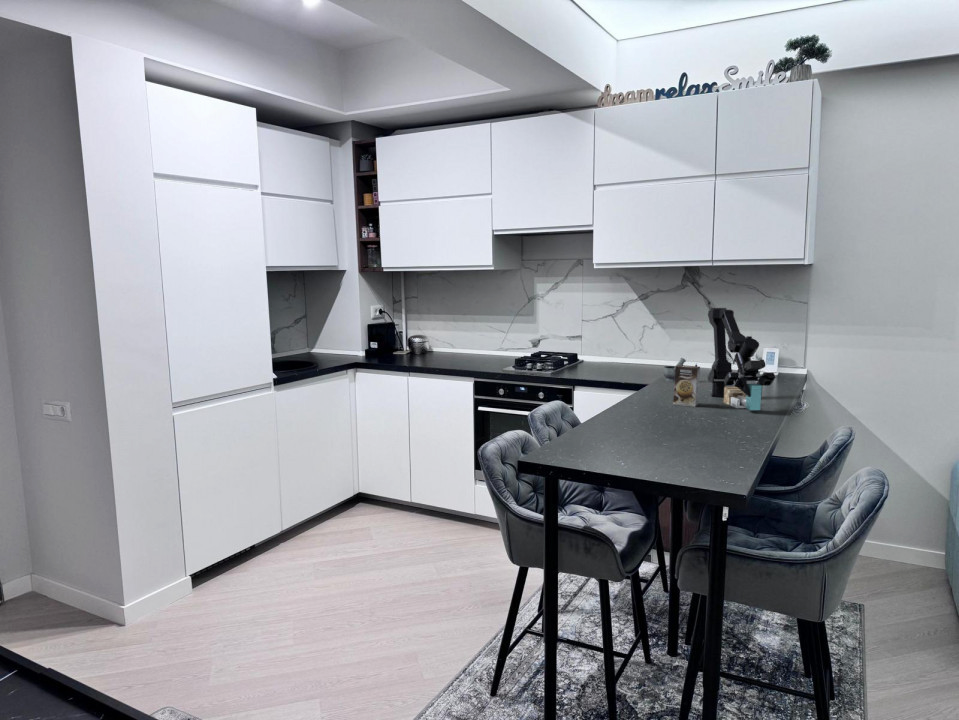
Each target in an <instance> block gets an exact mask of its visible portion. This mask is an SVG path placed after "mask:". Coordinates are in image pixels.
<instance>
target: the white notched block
mask: <svg viewBox="0 0 959 720" xmlns="http://www.w3.org/2000/svg"><path fill="white" fill-rule="evenodd" d="M730 406H731V407H734V408H735V409H747V408H746V406H744V405H742V404H740V400H739V399H737V398H735V397H731V405H730Z"/></svg>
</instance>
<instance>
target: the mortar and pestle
mask: <svg viewBox="0 0 959 720" xmlns="http://www.w3.org/2000/svg"><path fill="white" fill-rule="evenodd" d="M686 361H687V360H686V359H685V358H684V357H681V358H680V359H679V361H678V362H677V364H676V365H675V366H674V365H664V366H663V365H662V373H663V376H664V377H665V382H668V381H669V383H674V382H675V367H676V366H677V365H685V364H684V363H686Z"/></svg>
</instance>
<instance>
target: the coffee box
mask: <svg viewBox="0 0 959 720" xmlns="http://www.w3.org/2000/svg"><path fill="white" fill-rule="evenodd" d="M676 365H677V364H676ZM676 365H675V366H676ZM700 371H701V367H700V366H696V365H685V364H683V365H677V366H676V367H675V382H673V383H674V384H673V385H674V386H673V399H672V400H673V401H672V404H673V405H676V406H684V407H693V408H694V407H697V406H698V404H699V403H698V401H699V388H700V387H699V385H700Z"/></svg>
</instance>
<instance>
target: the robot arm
mask: <svg viewBox="0 0 959 720" xmlns="http://www.w3.org/2000/svg"><path fill="white" fill-rule="evenodd" d="M734 313H735V312H734V310H733V309H727V308H726V307H711V308H710V309H709V310H708V312H707V317H708V321H709V324H710V325H711V326H712V328H713V342H714V343H713V344H714V361H713V363H712V365H711V370H710V371H709V374H708V376H707V382H709V383H711V392H710V393H709V395H710V396H711V397H714V398H715V397H716V398H717V397H719V398H721V397H722V398H724V389H725V387H727V386H730V387H733V386H734V387H738V388H739V389H740V390H742V391H743V392H744V393H745V394H746V395H747V396H748V397H750V396H751V394H750V391H749V388H748V385H747V384H748V383H747V382H755V384H759V385H762V388H763V387H764V386H767V387H768V386H769V387H770V386H771V385H772V384H773V382H774V381H775V379H776V374H775V373H774V372H772V371H771V372H769V371H768V372H767V371H766V372H762V375H758V374H759V373H760V372H759V370H762V369H764V368H766V361H765V359H758V360H752V359H751V358H752V357H754V356H755V353H756V352H757V350H758V349H759V347H760V342H759V341H758V340H757V339H755V338H753V337H752V335H751V336H748V335H747V336H745V335H744V334H743V333H741V332H740V329H739V326H738V323H737V321H736V317H735V314H734ZM726 333H727V336H726ZM726 337H728V340H727V338H726ZM727 348H728V351H729V353H733V354H735V355H734V358H733V363H736V365H737V370H736V372H735V371H734V372H733V369H732V363H731V362H730V361H729V360H728V359H727V358H728V357H727ZM762 396H763V390H762V391H761V397H762Z"/></svg>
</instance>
